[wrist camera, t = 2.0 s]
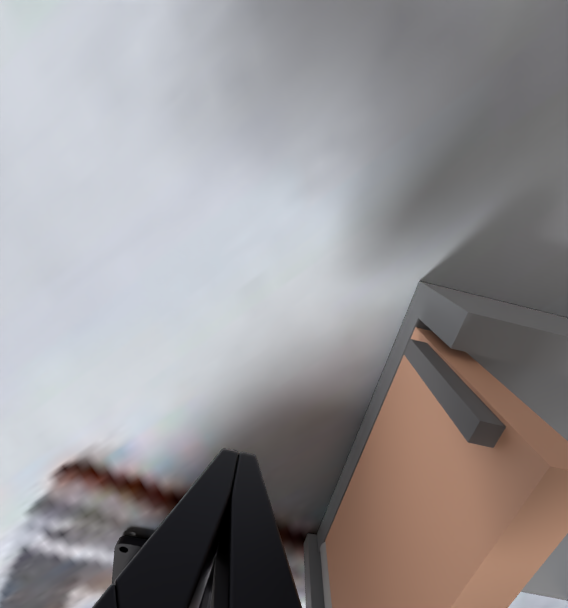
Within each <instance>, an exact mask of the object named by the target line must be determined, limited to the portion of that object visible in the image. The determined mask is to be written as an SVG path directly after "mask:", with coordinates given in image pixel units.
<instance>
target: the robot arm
mask: <svg viewBox="0 0 568 608" xmlns="http://www.w3.org/2000/svg"><path fill="white" fill-rule="evenodd" d="M218 543H219V544H218ZM217 547H218V549H217ZM216 551H217V552H216ZM92 608H302V606H301V602H300V599H299V596H298V592H297V589H296V586H295V583H294V579H293V576H292V573H291V569H290V566H289V563H288V560H287V556H286V553H285V550H284V546H283V543H282V540H281V537H280V533H279V530H278V527H277V523H276V520H275V517H274V514H273V510H272V507H271V504H270V500H269V497H268V494H267V491H266V487H265V484H264V481H263V477H262V474H261V471H260V468H259V464H258V461H257V458H256V456H255V455H254V454H250V453H245V452H240V453H238V451H235V450H231V449H226V448H224V449H222V450H221V451H220V452H219V454H218V455H217V456H216V457H215V458H214V460H213V461H212V462H211V463H210V465H209V466H208V467H207V468H206V469H205V471H204V472H203V473H202V474H201V476H200V477H199V478H198V479H197V480H196V482H195V483H194V484H193V485H192V487H191V488H190V489H189V490H188V491H187V493H186V494H185V495H184V496H183V498H182V499H181V500H180V501H179V502H178V504H177V505H176V506H175V507H174V509H173V510H172V511H171V512H170V513H169V515H168V516H167V517H166V518H165V520H164V521H163V522H162V523H161V524H160V526H159V527H158V528H157V529H156V531H155V532H154V533H153V534H152V535H151V537H150V538H149V539H148V540H147V539H141V538H136V537H131V536H122V537H120V538H119V540H118V542H117V544H116V546H115V551H114V563H113V575H112V584H111V585H110V586H109V588H108V589H107V590H106V591H105V592H104V594H103V595H102V596H101V597H100V599H99V600H98V601H97V602H96V603H95V605H94V606H93V607H92Z"/></svg>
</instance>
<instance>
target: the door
mask: <svg viewBox="0 0 568 608" xmlns="http://www.w3.org/2000/svg"><path fill="white" fill-rule="evenodd" d="M567 533H568V441H567V440H566V439H565V438H563V437H562V436H561V435H560V434H559V433H558V432H557V431H555V430H554V429H553V428H552V427H551V426H550V425H549V424H547V423H546V422H545V421H544V420H543V419H542V418H541V417H539V416H538V415H537V414H536V413H535V412H534V411H533V410H531V409H530V408H529V407H528V406H527V405H526V404H525V403H523V402H522V401H521V400H520V399H519V398H518V397H517V396H515V395H514V394H513V393H512V392H511V391H510V390H509V389H507V388H506V387H505V386H504V385H503V384H502V383H501V382H500V381H498V380H497V379H496V378H495V377H494V376H493V375H492V374H490V373H489V372H488V371H487V370H486V369H485V368H484V367H482V366H481V365H480V364H479V363H478V362H477V361H476V360H474V359H473V358H472V357H471V356H470V355H469V354H468V353H466V352H464V351H460V350H455V349H451V348H450V347H449V346H448V345H447V344H446V343H445V342H443V341H442V340H441V339H440V338H439V337H438V336H437V335H436V334H435V333H434V332H433V331H429V330H425V329H421V328H417V327H415V330H414V332H413V334H412V337H411V339H410V341H409V343H408V345H407V348H406V350H405V352H404V356H403V358H402V360H401V363H400V365H399V367H398V370H397V372H396V374H395V377H394V379H393V382H392V384H391V386H390V389H389V391H388V393H387V396H386V398H385V400H384V403H383V405H382V407H381V410H380V412H379V415H378V417H377V419H376V422H375V424H374V426H373V429H372V431H371V433H370V436H369V438H368V441H367V443H366V445H365V448H364V450H363V452H362V455H361V457H360V459H359V462H358V464H357V466H356V469H355V471H354V474H353V476H352V478H351V481H350V483H349V485H348V488H347V490H346V492H345V495H344V497H343V500H342V502H341V504H340V507H339V509H338V511H337V514H336V516H335V518H334V521H333V523H332V525H331V528H330V530H329V533H328V535H327V537H326V540H325V542H324V543H323V544H322V545H321V547H320V555H321V567H322V579H323V591H324V603H325V608H508V607H509V605H510V604H511V603H512V602H513V600H514V599H515V598H516V597H517V595H518V594H519V593H520V592H521V590H522V589H523V588H524V587H525V585H526V584H527V583H528V582H529V581H530V579H531V578H532V577H533V576H534V574H535V573H536V572H537V571H538V569H539V568H540V567H541V566H542V564H543V563H544V562H545V561H546V559H547V558H548V557H549V556H550V555H551V553H552V552H553V551H554V550H555V548H556V547H557V546H558V545H559V543H560V542H561V541H562V540H563V538H564V537H565V536H566V535H567Z"/></svg>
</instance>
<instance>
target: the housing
mask: <svg viewBox="0 0 568 608" xmlns="http://www.w3.org/2000/svg"><path fill="white" fill-rule="evenodd" d="M415 327H417V328H421V329H425V330H429V331H433V332H434V333H435V334H436V335H437V336H438V337H439V338H440V339H441V340H442V341H443V342H445V343H446V344H447V345H448V346H449V347H450V348H451V349H455V350H460V351H464V352H466V353H468V354H469V355H470V356H471V357H472V358H473V359H474V360H476V361H477V362H478V363H479V364H480V365H481V366H482V367H484V368H485V369H486V370H487V371H488V372H489V373H490V374H492V375H493V376H494V377H495V378H496V379H497V380H498V381H500V382H501V383H502V384H503V385H504V386H505V387H506V388H507V389H509V390H510V391H511V392H512V393H513V394H514V395H515V396H517V397H518V398H519V399H520V400H521V401H522V402H523V403H525V404H526V405H527V406H528V407H529V408H530V409H531V410H533V411H534V412H535V413H536V414H537V415H538V416H539V417H541V418H542V419H543V420H544V421H545V422H546V423H547V424H549V425H550V426H551V427H552V428H553V429H554V430H555V431H557V432H558V433H559V434H560V435H561V436H562V437H563V438H565V439H566V440H567V441H568V318H566V317H562V316H558V315H554V314H550V313H546V312H542V311H538V310H534V309H530V308H526V307H522V306H518V305H514V304H510V303H506V302H502V301H498V300H494V299H490V298H486V297H482V296H478V295H474V294H470V293H466V292H462V291H458V290H454V289H449V288H445V287H441V286H437V285H433V284H429V283H425V282H421V281H419V283H418V286H417V288H416V291H415V293H414V296H413V298H412V301H411V303H410V305H409V308H408V310H407V313H406V315H405V318H404V320H403V323H402V325H401V328H400V330H399V333H398V335H397V337H396V340H395V342H394V345H393V347H392V350H391V352H390V355H389V357H388V360H387V362H386V365H385V367H384V370H383V372H382V374H381V377H380V379H379V382H378V384H377V387H376V389H375V392H374V394H373V397H372V399H371V402H370V404H369V406H368V409H367V411H366V414H365V416H364V419H363V421H362V424H361V426H360V429H359V431H358V434H357V436H356V439H355V441H354V443H353V446H352V448H351V451H350V453H349V456H348V458H347V461H346V463H345V466H344V468H343V471H342V473H341V475H340V478H339V480H338V483H337V485H336V488H335V490H334V493H333V495H332V498H331V500H330V503H329V505H328V508H327V510H326V512H325V515H324V517H323V520H322V522H321V525H320V527H319V530H318V532H317V535H315V534H310V533H308V534H307V536H306V539H305V542H304V566H305V593H306V608H325V603H324V591H323V579H322V567H321V555H320V547H321V545H322V544H323V543H324V542H325V540H326V537H327V535H328V533H329V530H330V528H331V525H332V523H333V521H334V518H335V516H336V514H337V511H338V509H339V507H340V504H341V502H342V500H343V497H344V495H345V492H346V490H347V488H348V485H349V483H350V481H351V478H352V476H353V474H354V471H355V469H356V466H357V464H358V462H359V459H360V457H361V455H362V452H363V450H364V448H365V445H366V443H367V441H368V438H369V436H370V433H371V431H372V429H373V426H374V424H375V422H376V419H377V417H378V415H379V412H380V410H381V407H382V405H383V403H384V400H385V398H386V396H387V393H388V391H389V389H390V386H391V384H392V382H393V379H394V377H395V374H396V372H397V370H398V367H399V365H400V363H401V360H402V358H403V356H404V352H405V350H406V348H407V345H408V343H409V341H410V339H411V337H412V334H413V332H414V330H415ZM521 592H525V593H530V594H536V595H541V596H546V597H552V598H557V599H562V600H567V601H568V533H567V535H566V536H565V537H564V538H563V540H562V541H561V542H560V543H559V545H558V546H557V547H556V548H555V550H554V551H553V552H552V553H551V555H550V556H549V557H548V558H547V559H546V561H545V562H544V563H543V564H542V566H541V567H540V568H539V569H538V571H537V572H536V573H535V574H534V576H533V577H532V578H531V579H530V581H529V582H528V583H527V584H526V585H525V587H524V588H523V589H522V590H521Z"/></svg>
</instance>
